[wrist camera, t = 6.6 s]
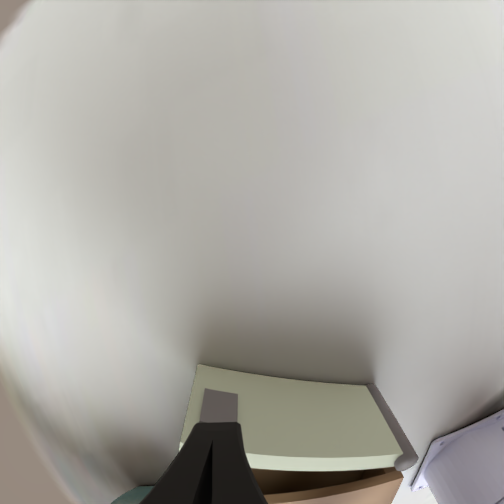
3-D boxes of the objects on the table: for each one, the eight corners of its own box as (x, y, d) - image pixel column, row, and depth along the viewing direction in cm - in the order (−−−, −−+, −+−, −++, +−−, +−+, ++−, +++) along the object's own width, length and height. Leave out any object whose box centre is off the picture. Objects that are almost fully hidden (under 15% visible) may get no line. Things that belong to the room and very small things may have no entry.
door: (380, 382, 17) (423, 452, 11) (372, 398, 17) (410, 469, 11) (198, 360, 16) (179, 444, 10) (195, 378, 16) (177, 462, 10)
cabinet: (365, 401, 17) (403, 477, 11) (349, 478, 19) (369, 541, 13) (207, 418, 17) (196, 505, 11) (225, 491, 19) (223, 559, 13)
